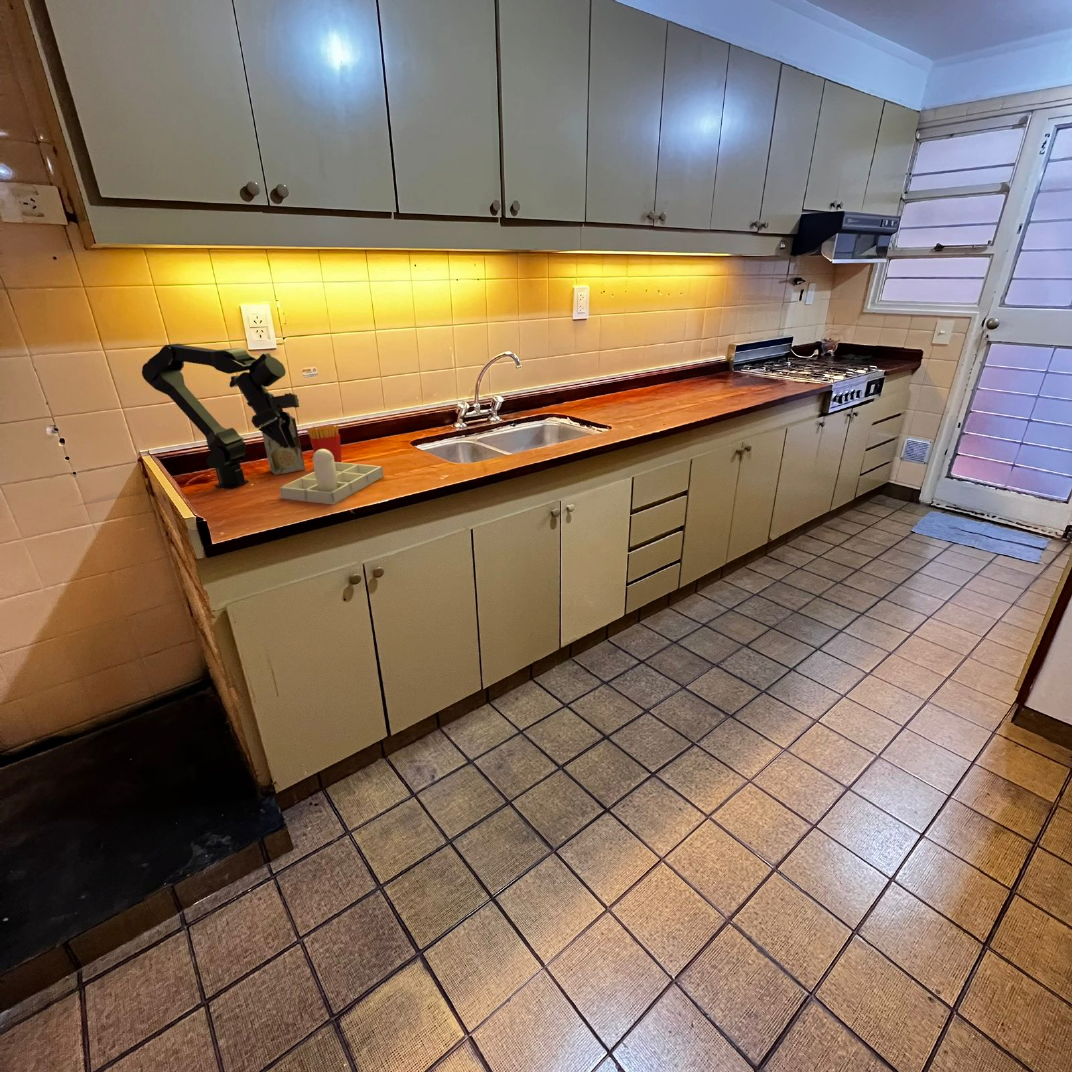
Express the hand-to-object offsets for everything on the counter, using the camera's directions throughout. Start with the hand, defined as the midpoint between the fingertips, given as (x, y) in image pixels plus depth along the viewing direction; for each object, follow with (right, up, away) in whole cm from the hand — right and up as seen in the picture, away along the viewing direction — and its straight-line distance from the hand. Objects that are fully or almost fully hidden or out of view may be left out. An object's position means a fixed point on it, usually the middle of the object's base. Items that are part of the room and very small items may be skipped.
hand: (290, 447), depth 152 cm
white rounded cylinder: (+10, -13, 0) cm, 17 cm away
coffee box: (-11, -4, +23) cm, 25 cm away
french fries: (+1, -2, +26) cm, 26 cm away
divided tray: (+9, -10, +8) cm, 16 cm away
